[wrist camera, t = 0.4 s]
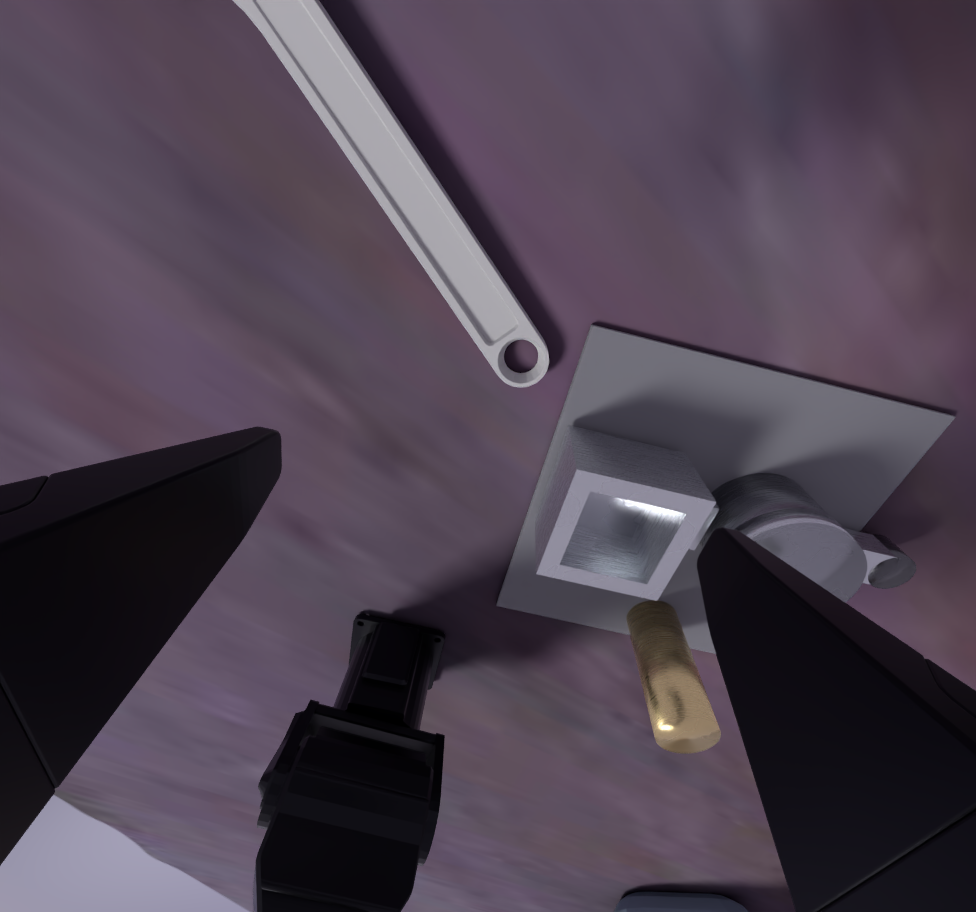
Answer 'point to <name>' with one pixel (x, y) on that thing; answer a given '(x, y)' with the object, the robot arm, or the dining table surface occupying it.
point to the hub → (791, 530)
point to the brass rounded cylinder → (671, 680)
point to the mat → (719, 454)
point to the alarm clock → (677, 903)
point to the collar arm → (643, 518)
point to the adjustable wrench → (398, 178)
